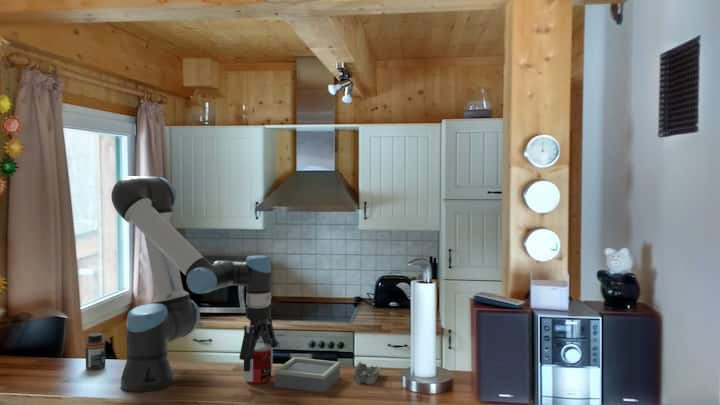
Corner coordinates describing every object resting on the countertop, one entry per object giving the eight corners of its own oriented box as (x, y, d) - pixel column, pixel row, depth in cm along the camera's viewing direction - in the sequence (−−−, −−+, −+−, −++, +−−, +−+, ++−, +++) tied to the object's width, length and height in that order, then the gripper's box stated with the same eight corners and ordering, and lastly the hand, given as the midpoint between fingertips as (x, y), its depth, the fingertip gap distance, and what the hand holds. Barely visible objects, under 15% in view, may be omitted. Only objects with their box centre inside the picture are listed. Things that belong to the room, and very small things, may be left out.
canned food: (266, 386, 172) (266, 350, 172) (241, 384, 174) (241, 348, 174) (274, 377, 180) (275, 343, 180) (251, 376, 182) (251, 341, 181)
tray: (274, 386, 172) (274, 370, 172) (293, 372, 185) (293, 357, 185) (323, 392, 167) (324, 375, 167) (339, 377, 181) (339, 362, 180)
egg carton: (359, 373, 186) (359, 360, 186) (381, 375, 184) (381, 362, 184) (350, 383, 176) (350, 370, 176) (374, 386, 174) (374, 372, 174)
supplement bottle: (87, 366, 191) (87, 332, 190) (107, 364, 192) (106, 331, 192) (83, 371, 185) (83, 337, 185) (103, 370, 186) (103, 336, 186)
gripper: (250, 314, 164) (250, 388, 164) (286, 299, 187) (286, 363, 187) (227, 313, 166) (227, 385, 166) (265, 297, 189) (265, 361, 190)
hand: (258, 374), depth 177 cm, fingers open, 12 cm apart
